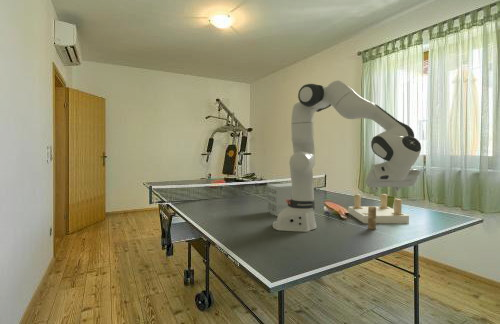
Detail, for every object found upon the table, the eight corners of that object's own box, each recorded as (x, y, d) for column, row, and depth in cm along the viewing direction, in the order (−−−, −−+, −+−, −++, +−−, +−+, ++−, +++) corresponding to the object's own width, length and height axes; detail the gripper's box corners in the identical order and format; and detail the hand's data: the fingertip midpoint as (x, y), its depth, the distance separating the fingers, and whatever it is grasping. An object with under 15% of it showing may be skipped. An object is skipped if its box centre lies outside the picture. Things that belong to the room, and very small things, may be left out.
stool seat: (363, 223, 148) (364, 200, 147) (348, 212, 172) (348, 193, 171) (408, 223, 148) (409, 200, 147) (387, 212, 172) (387, 193, 171)
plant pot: (396, 212, 174) (396, 198, 173) (380, 211, 177) (380, 197, 176) (394, 208, 183) (394, 195, 182) (378, 208, 186) (378, 195, 185)
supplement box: (291, 209, 182) (291, 182, 181) (301, 214, 169) (302, 185, 168) (267, 212, 176) (267, 183, 175) (276, 216, 163) (276, 186, 162)
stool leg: (369, 229, 136) (370, 207, 136) (366, 227, 140) (367, 206, 139) (377, 229, 136) (377, 207, 136) (373, 227, 140) (374, 206, 139)
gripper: (418, 164, 116) (405, 184, 127) (369, 165, 117) (360, 185, 127) (424, 175, 112) (410, 195, 122) (374, 176, 112) (364, 196, 122)
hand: (385, 190), depth 124 cm, fingers open, 8 cm apart
